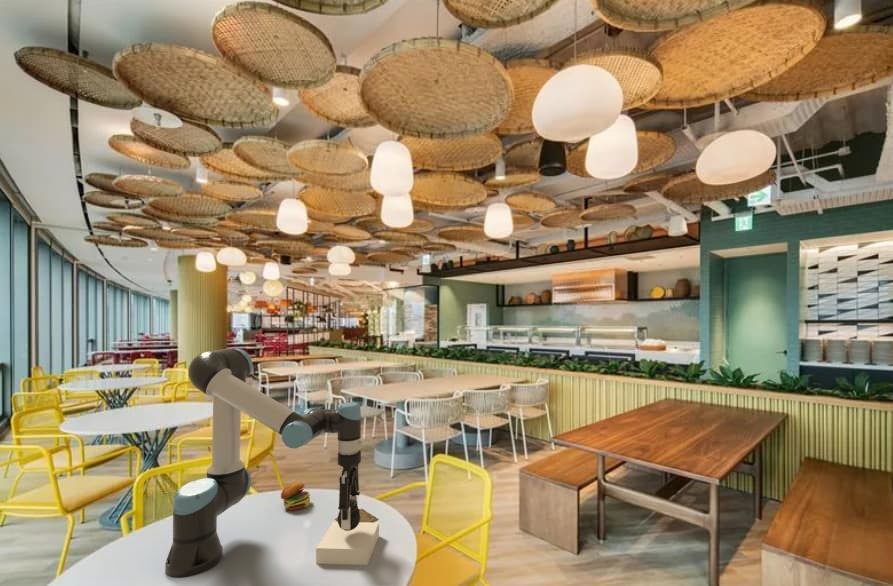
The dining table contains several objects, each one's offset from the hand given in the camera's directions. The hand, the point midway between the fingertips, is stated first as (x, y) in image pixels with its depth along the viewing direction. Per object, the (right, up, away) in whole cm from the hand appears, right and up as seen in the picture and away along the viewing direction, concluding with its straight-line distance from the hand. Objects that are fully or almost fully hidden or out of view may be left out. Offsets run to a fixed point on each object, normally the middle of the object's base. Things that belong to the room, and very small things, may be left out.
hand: (349, 522), depth 134 cm
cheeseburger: (-29, -11, +30) cm, 43 cm away
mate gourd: (0, -2, 0) cm, 2 cm away
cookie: (-2, -10, +19) cm, 21 cm away
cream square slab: (0, -9, 0) cm, 9 cm away
